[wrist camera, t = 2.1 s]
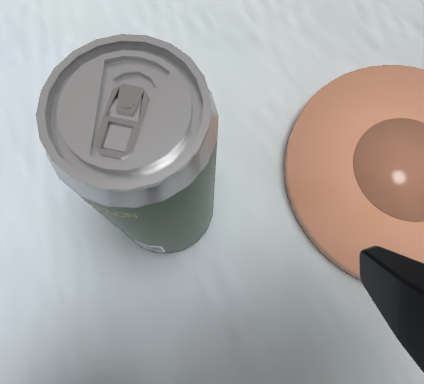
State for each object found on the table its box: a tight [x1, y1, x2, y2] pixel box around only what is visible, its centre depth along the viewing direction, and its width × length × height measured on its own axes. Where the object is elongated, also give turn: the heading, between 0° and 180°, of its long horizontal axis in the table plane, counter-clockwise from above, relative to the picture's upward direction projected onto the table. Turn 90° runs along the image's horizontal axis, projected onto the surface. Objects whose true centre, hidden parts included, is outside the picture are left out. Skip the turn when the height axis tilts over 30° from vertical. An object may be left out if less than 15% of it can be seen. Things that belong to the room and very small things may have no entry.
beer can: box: [36, 34, 218, 253], centre depth 16 cm, size 5×5×12 cm
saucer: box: [284, 65, 424, 280], centre depth 22 cm, size 14×14×1 cm
